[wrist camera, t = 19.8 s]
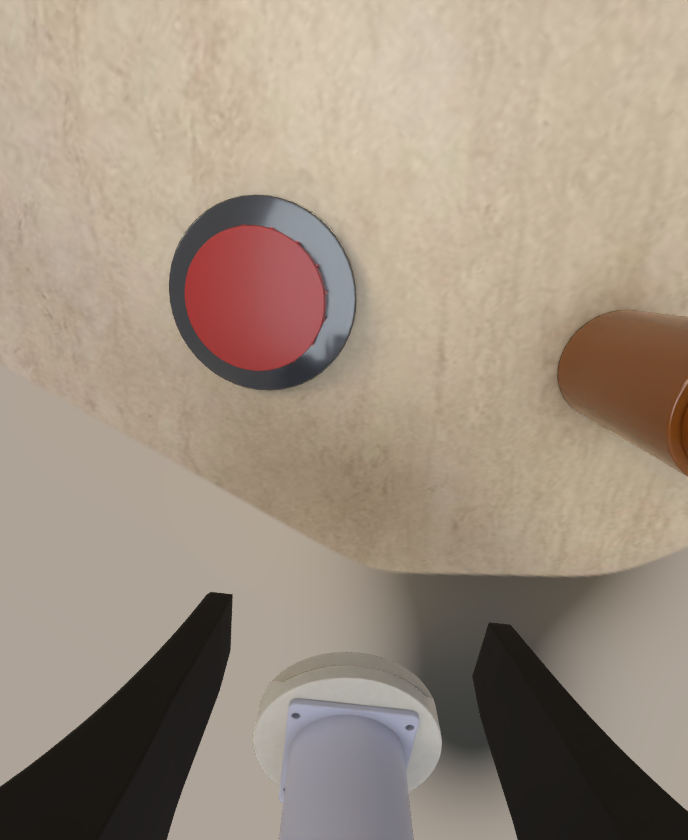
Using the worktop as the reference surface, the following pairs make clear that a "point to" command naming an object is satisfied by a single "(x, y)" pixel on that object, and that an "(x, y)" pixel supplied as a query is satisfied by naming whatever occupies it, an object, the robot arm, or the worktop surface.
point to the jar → (633, 380)
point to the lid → (255, 297)
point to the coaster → (321, 249)
